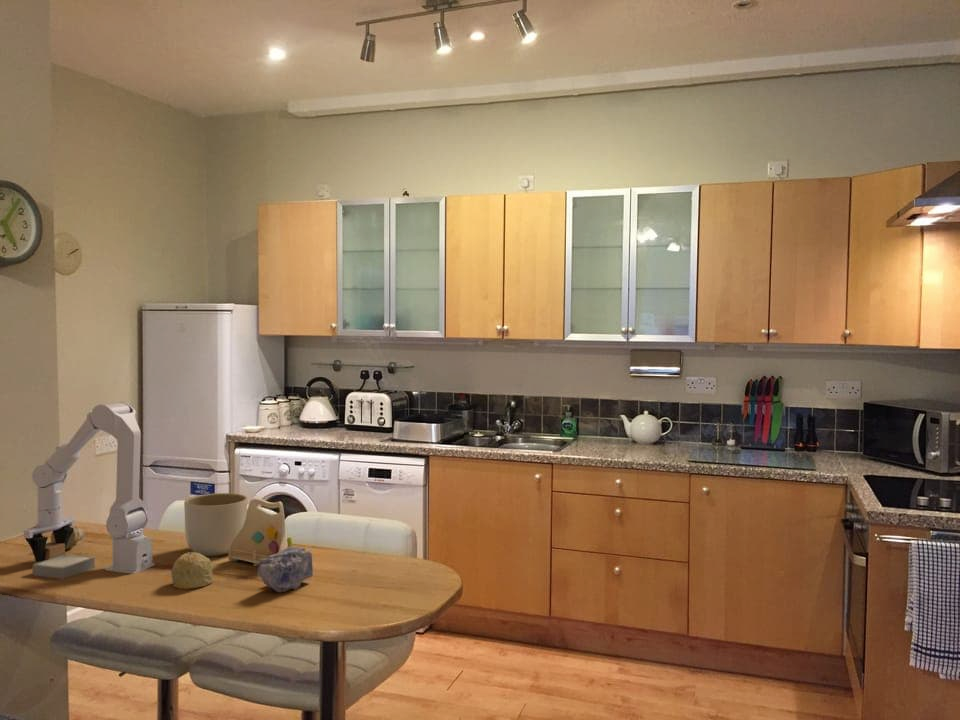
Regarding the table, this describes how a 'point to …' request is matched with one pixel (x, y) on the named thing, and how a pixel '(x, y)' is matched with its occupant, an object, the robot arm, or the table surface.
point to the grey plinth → (63, 566)
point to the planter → (214, 522)
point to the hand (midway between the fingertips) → (50, 558)
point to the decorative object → (192, 571)
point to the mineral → (286, 569)
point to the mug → (72, 537)
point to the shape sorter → (260, 534)
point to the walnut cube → (53, 550)
